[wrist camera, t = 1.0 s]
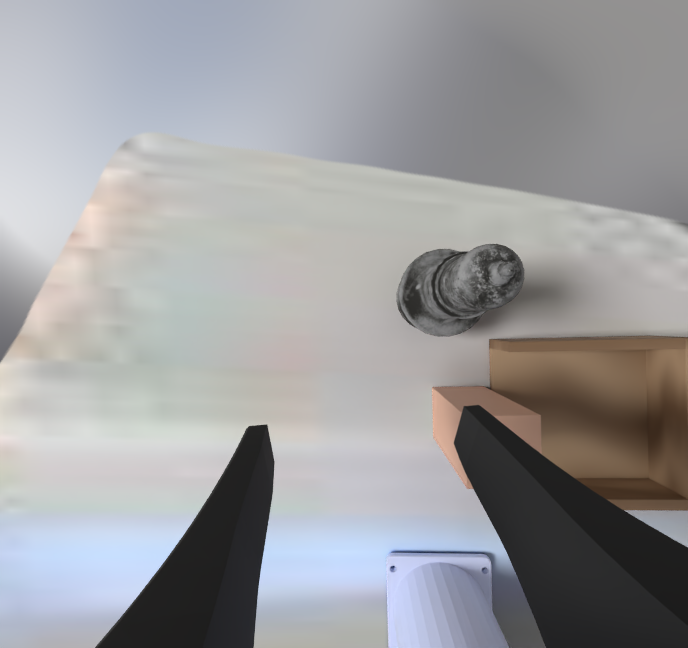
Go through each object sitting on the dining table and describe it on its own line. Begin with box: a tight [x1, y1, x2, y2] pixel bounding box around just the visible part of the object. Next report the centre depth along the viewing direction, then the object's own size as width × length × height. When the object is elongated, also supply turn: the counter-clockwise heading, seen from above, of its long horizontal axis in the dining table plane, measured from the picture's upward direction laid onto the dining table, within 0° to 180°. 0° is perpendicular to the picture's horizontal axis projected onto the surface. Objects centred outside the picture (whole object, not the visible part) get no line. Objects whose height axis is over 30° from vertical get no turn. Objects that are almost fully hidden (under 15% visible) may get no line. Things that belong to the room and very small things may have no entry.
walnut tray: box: [489, 336, 688, 510], centre depth 21 cm, size 11×12×3 cm
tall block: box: [432, 386, 542, 489], centre depth 19 cm, size 4×4×7 cm
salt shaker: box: [397, 244, 524, 336], centre depth 17 cm, size 6×6×12 cm
